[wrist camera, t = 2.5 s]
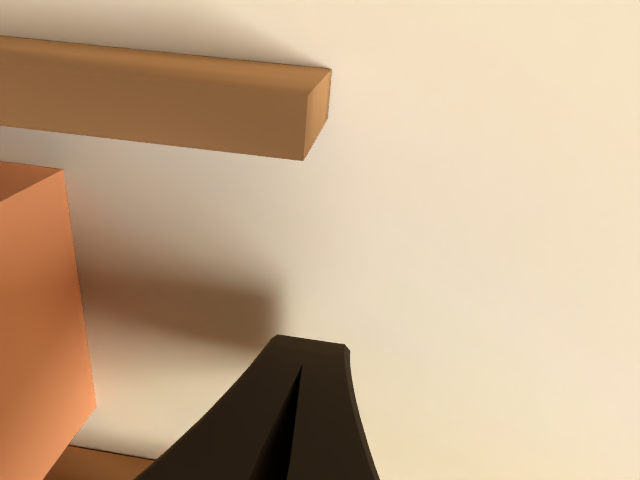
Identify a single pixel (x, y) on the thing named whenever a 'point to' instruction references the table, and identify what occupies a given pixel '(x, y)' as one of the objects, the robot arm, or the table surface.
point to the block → (39, 324)
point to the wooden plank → (157, 126)
